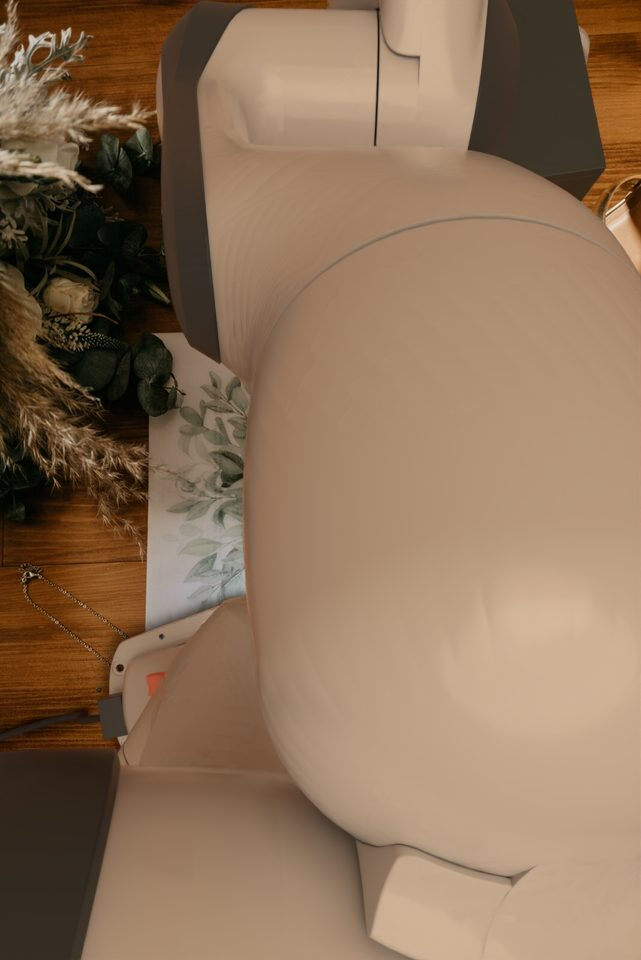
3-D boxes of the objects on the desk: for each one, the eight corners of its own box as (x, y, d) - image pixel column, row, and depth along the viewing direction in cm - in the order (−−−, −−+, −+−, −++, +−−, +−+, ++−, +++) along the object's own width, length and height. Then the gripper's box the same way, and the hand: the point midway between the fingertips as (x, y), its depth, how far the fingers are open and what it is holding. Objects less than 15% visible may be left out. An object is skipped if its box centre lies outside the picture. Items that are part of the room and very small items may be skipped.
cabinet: (418, 316, 82) (472, 187, 53) (395, 183, 83) (436, -15, 54) (504, 303, 82) (607, 167, 53) (480, 171, 83) (567, -33, 54)
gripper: (317, -72, 48) (319, 66, 62) (369, 217, 46) (359, 293, 60) (409, -87, 48) (391, 54, 62) (465, 201, 46) (434, 280, 60)
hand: (376, 173), depth 61 cm, fingers closed
